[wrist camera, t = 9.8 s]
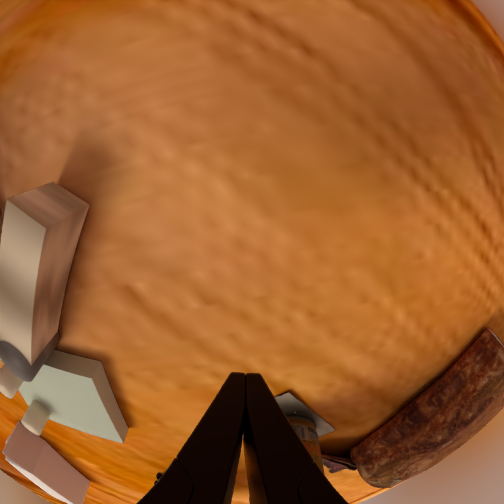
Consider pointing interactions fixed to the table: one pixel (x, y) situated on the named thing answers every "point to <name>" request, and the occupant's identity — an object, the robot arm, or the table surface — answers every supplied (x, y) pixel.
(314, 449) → the condiment
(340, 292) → the table surface
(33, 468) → the milk carton
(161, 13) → the table surface
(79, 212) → the leg
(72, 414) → the stool seat
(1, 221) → the stop block
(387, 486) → the cured meat
